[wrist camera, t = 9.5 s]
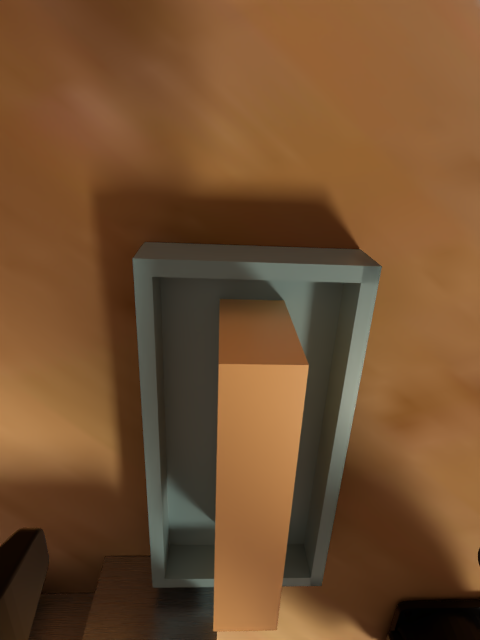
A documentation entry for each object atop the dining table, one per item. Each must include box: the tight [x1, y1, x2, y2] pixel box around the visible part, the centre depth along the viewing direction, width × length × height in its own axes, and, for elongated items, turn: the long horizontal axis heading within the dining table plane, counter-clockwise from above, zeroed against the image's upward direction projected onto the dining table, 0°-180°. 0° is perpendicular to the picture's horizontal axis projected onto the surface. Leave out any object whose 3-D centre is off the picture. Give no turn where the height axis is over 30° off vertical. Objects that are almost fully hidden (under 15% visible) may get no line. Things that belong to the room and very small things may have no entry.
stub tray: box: [133, 242, 382, 588], centre depth 18 cm, size 8×16×2 cm, turn 177°
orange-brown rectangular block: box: [213, 299, 309, 631], centre depth 16 cm, size 2×12×5 cm, turn 178°
